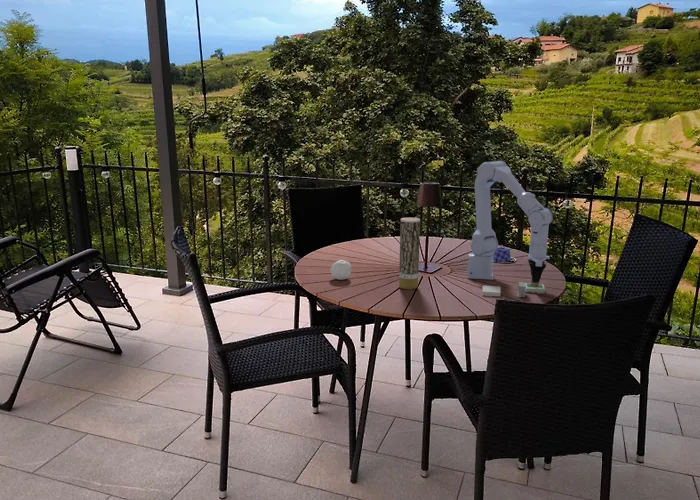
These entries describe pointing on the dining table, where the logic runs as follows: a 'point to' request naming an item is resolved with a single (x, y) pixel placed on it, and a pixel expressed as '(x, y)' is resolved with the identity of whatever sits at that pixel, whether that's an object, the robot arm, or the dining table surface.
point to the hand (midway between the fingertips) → (535, 281)
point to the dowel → (534, 284)
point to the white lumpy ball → (341, 269)
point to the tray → (531, 289)
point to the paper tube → (409, 253)
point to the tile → (491, 291)
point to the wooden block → (521, 289)
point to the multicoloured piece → (502, 255)
